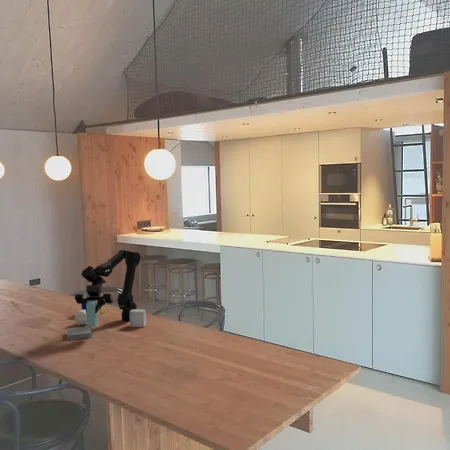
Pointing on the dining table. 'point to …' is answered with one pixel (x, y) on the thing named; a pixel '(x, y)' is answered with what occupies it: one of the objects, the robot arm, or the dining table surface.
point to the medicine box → (137, 318)
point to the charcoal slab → (78, 333)
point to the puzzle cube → (99, 309)
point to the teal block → (91, 313)
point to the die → (81, 317)
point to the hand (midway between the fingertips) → (91, 313)
